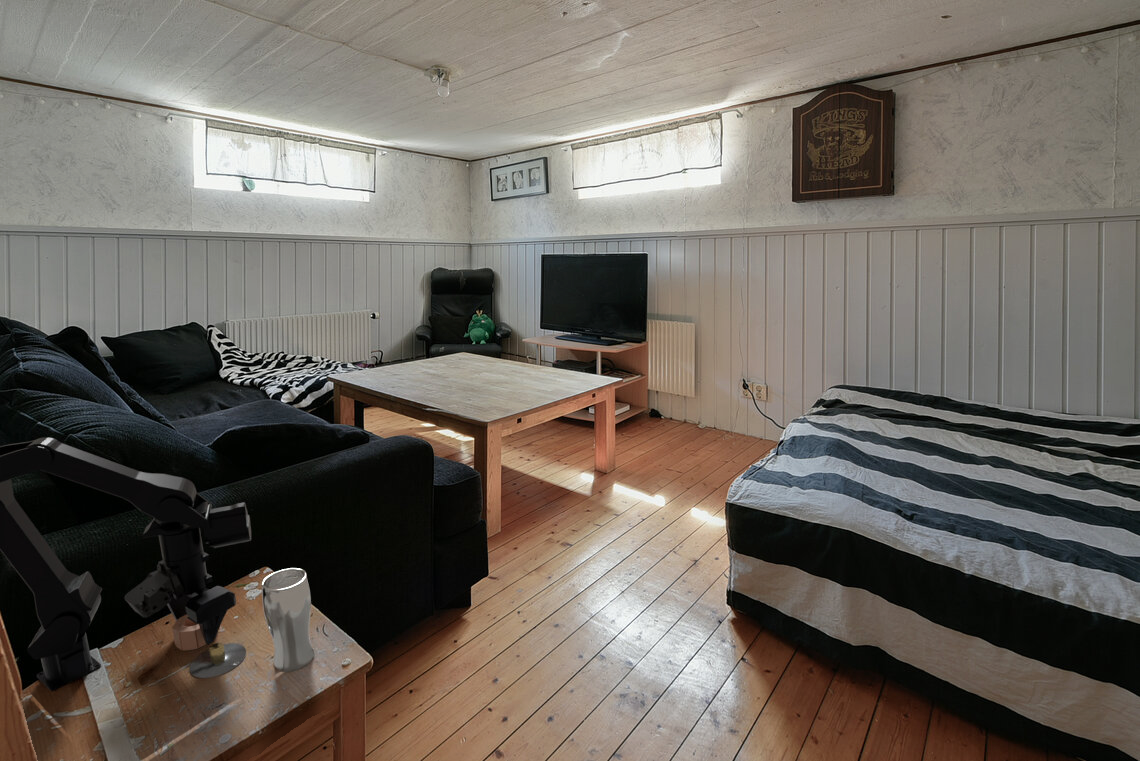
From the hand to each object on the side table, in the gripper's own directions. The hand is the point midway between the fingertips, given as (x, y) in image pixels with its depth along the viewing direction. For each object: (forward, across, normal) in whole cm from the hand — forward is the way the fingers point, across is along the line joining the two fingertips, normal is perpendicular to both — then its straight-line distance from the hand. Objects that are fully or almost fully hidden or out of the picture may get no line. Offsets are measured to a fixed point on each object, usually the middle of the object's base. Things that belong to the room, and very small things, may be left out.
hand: (196, 633), depth 100 cm
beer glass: (+2, +19, +6) cm, 20 cm away
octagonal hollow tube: (+1, 0, 0) cm, 1 cm away
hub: (+1, +9, -1) cm, 9 cm away
